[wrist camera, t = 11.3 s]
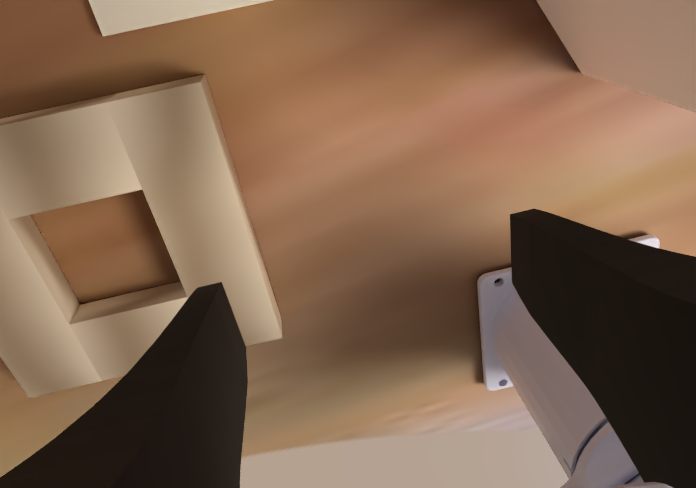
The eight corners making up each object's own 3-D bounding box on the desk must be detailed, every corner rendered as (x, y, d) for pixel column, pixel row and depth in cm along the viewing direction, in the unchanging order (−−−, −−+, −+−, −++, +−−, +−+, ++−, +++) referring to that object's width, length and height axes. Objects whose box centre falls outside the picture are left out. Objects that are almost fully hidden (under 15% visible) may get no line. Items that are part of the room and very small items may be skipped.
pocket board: (204, 73, 19) (200, 82, 18) (281, 318, 25) (282, 337, 24) (-112, 143, 19) (-140, 155, 18) (41, 375, 25) (29, 398, 24)
